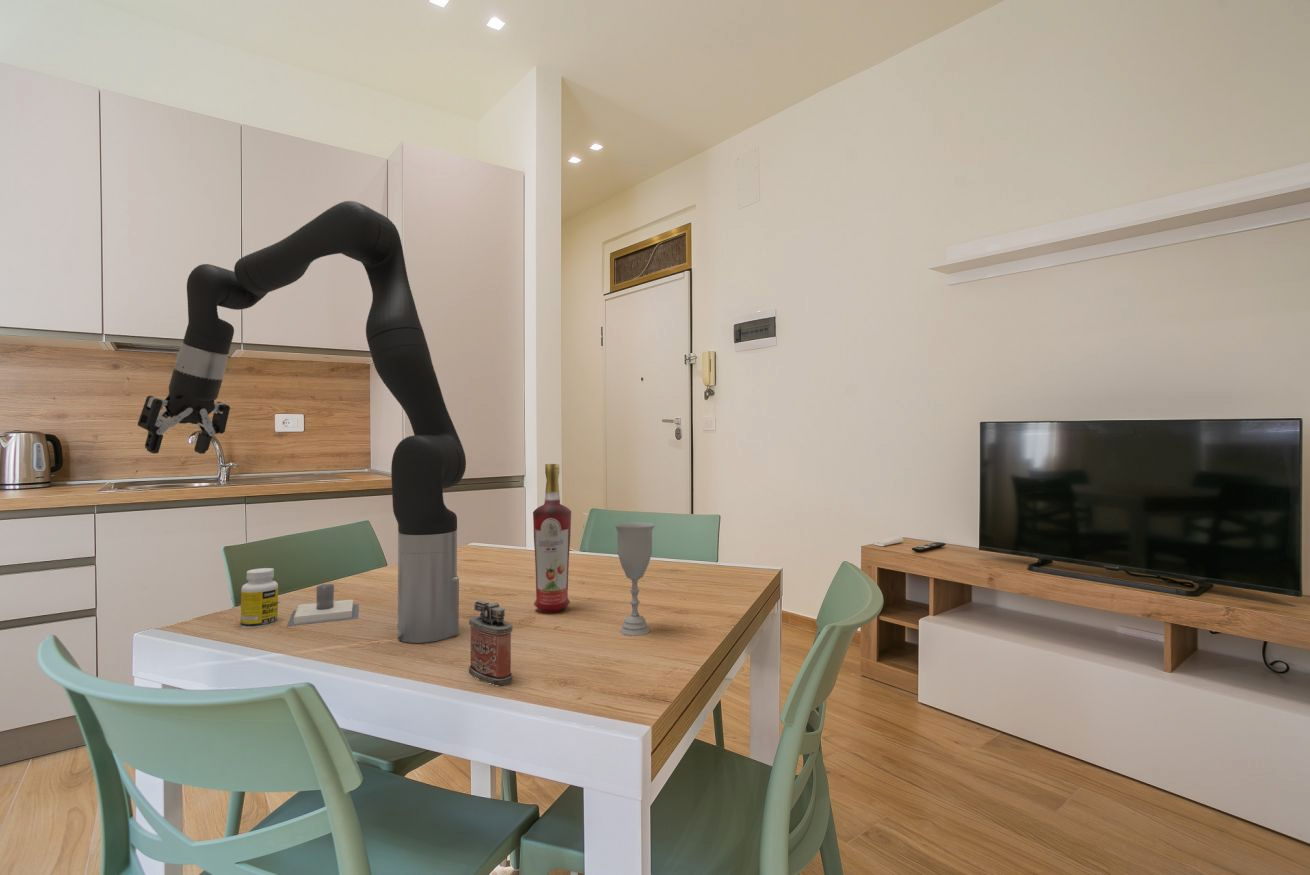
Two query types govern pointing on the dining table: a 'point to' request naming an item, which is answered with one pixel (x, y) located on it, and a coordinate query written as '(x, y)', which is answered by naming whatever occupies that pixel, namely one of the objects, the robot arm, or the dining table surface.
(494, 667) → the lighter
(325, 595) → the lid
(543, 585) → the liquor
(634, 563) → the chalice
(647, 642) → the dining table surface
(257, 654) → the dining table surface
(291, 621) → the mat
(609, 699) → the dining table surface
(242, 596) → the supplement bottle
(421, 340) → the robot arm
